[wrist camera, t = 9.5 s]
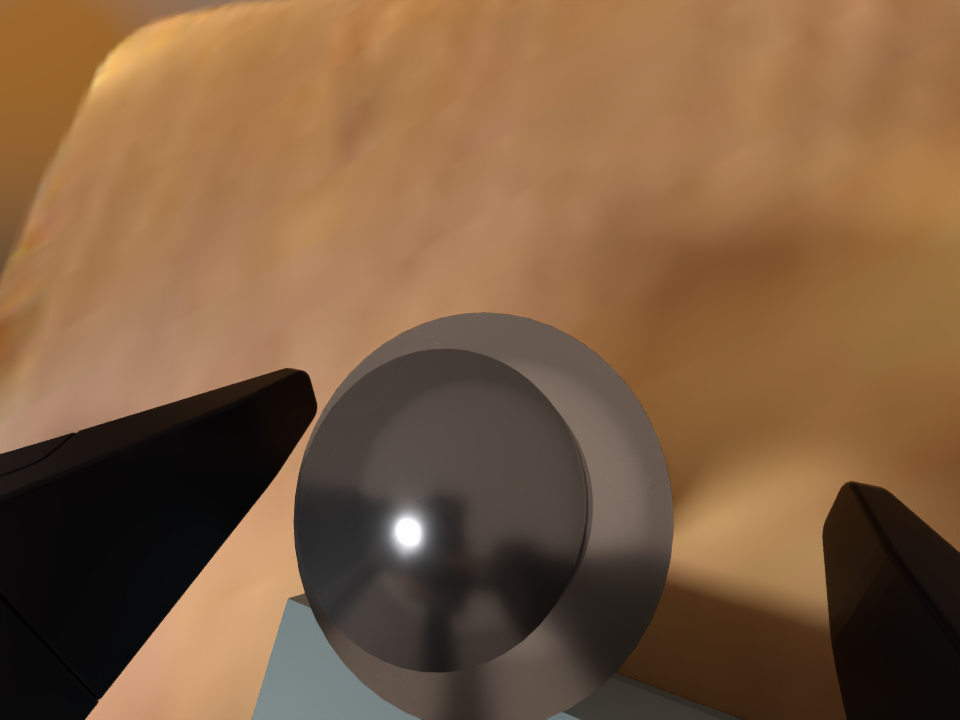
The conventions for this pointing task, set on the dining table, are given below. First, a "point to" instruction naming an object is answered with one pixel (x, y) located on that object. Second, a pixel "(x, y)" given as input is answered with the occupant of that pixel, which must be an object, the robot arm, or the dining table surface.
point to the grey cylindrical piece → (483, 520)
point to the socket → (365, 716)
